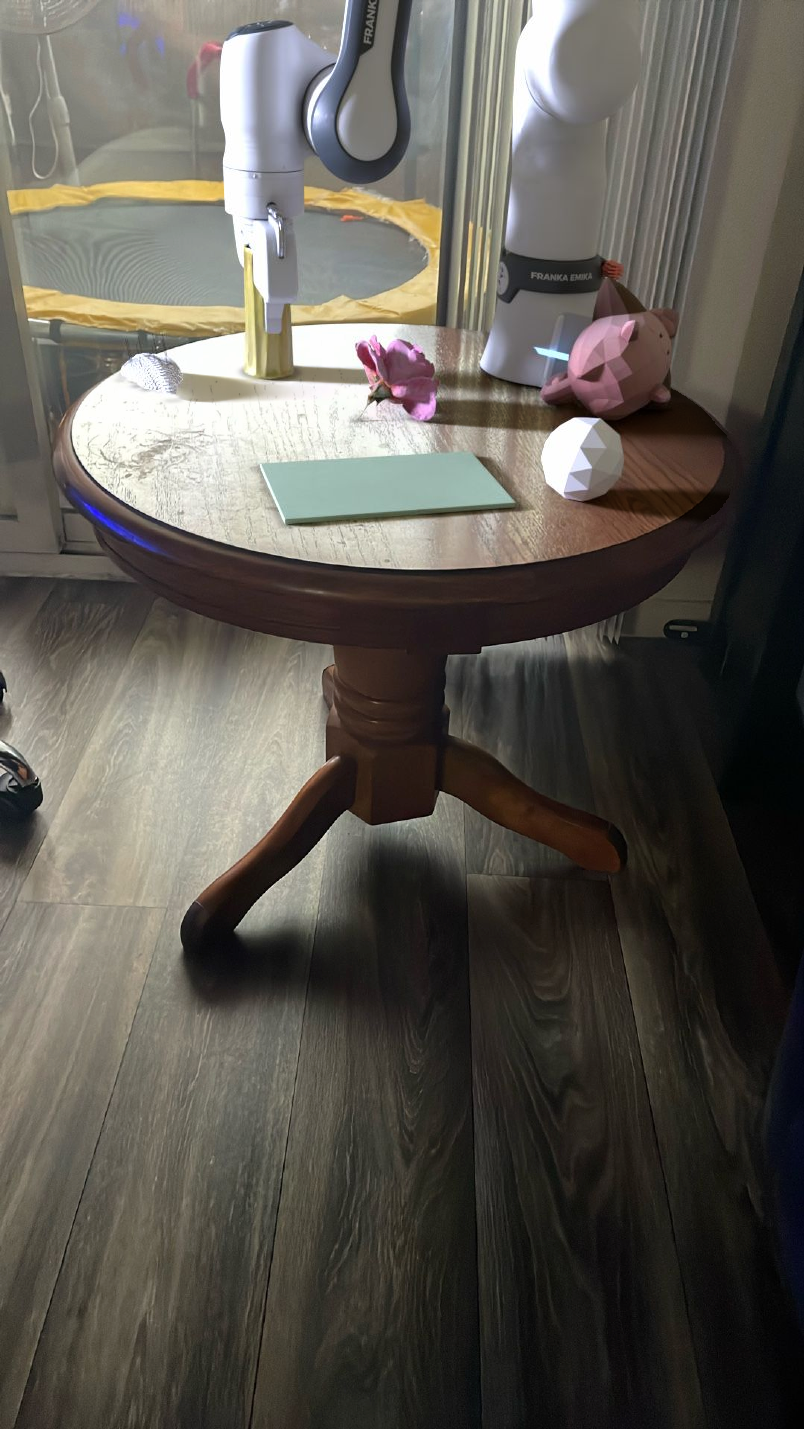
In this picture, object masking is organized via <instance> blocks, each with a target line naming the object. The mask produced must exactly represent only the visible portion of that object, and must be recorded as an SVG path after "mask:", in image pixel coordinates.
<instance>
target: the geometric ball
mask: <svg viewBox="0 0 804 1429" xmlns="http://www.w3.org/2000/svg"><path fill="white" fill-rule="evenodd" d="M540 459H541V464H542V467H543V472H544V477H545V482H546V484H547V485H548V486H549V487H551V488H552V489H553V490H554V491H555V492H557V493H558V494H559V495H560V496H562V497H563V498H564V499H565V500H573V501H578V502H585V501H590V500H593V499H596V498H599V497H600V496H603V495H606V493H607V492H609V490H611V488H612V487H613V486H614V485H615V484H616V483H617V482H618V480H619V479H620V478H621V477H622V474H623V469H624V464H625V456H624V450H623V445H622V440H621V435H620V434H619V433H618V432H617V431H615V429H614V428H612V427H611V426H610V425H609V424H608V423H606V422H605V420H602V419H600V418H598V417H597V418H596V417H573V418H571V419H569V420H568V421H566V422H563V423H561V424H560V425H559V426H558V427H556V428H555V429H554V430H553V431H552V432H551V433H550V435H549V436H548V438H547V439H546V441H545V443H544V446H543V450H542V453H541V458H540Z"/></svg>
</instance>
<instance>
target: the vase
mask: <svg viewBox="0 0 804 1429" xmlns="http://www.w3.org/2000/svg"><path fill="white" fill-rule="evenodd" d="M248 244H249V243H246V244H244V246H243V256H244V268H243V283H244V284H243V290H244V292H243V293H244V326H245V328H244V329H245V330H244V364H243V365H244V366H243V370H244V373H245V374H246V375H248V376H250V377H253V378H256V379H262V380H278V379H285V378H288V377H290V376H291V375H294V373H295V366H294V349H293V347H294V346H293V326H292V308H291V306H292V305H291V303H287V304H284V309H283V314H282V331H281V332H280V333H279V334H269V333H267V331H266V329H265V327H264V315H265V303H264V298H263V297H262V295H261V294H260V292H259V291H258V289H257V288H256V286H255V284H254V274H253V249H249V248H248ZM283 258H284V257H283ZM283 258H282V259H283ZM279 259H281V258H280V257H279Z"/></svg>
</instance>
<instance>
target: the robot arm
mask: <svg viewBox="0 0 804 1429" xmlns="http://www.w3.org/2000/svg"><path fill="white" fill-rule="evenodd" d="M531 1H532V16H531V17H530V18H529V20H528V21H527V22H526V24H525V26H523V27H524V28H523V29H522V31H521V33H520V36H519V38H518V41H517V46H516V52H515V64H514V66H515V67H514V80H513V102H512V103H513V104H512V105H513V106H512V108H513V109H512V135H511V136H512V138H511V139H512V140H511V141H512V142H511V152H512V154H511V179H510V190H509V200H508V212H507V220H506V230H505V239H504V245H503V246H502V247H501V248H500V254H499V261H498V262H499V263H498V267H497V271H496V272H497V274H496V296H497V300H496V305H495V311H494V315H493V319H492V323H491V324H492V325H491V328H490V332H489V336H488V339H487V341H486V345H485V348H484V351H483V353H482V356H481V359H480V361H479V366H480V368H481V369H482V370H483V371H485V372H486V373H488V374H489V375H491V376H493V377H496V378H499V379H502V380H505V381H508V382H511V383H516V384H522V385H527V386H534V387H539V388H541V389H542V388H543V387H544V385H545V384H546V382H547V381H548V379H550V378H551V377H553V376H554V375H555V374H558V373H560V372H562V371H566V370H567V368H568V356H569V353H570V351H571V349H572V347H573V345H574V343H575V342H576V340H577V339H578V337H579V335H580V334H581V332H582V331H583V330H584V329H585V328H586V327H587V326H588V325H590V324H591V323H592V319H593V312H594V307H595V303H596V299H597V295H598V292H599V290H600V287H601V285H602V283H603V281H604V280H605V279H606V278H613V279H614V280H616V281H617V282H618V281H619V280H620V279H621V277H623V273H625V271H624V269H625V268H624V267H623V264H622V263H620V262H617V261H616V260H613V259H609V260H607V259H606V258H604V257H603V256H602V255H600V254H599V253H597V251H598V246H599V238H600V231H601V225H602V218H603V212H604V206H605V197H606V192H607V186H608V184H607V183H608V177H607V167H606V166H607V164H606V162H607V161H606V146H607V145H606V144H607V142H606V138H607V119H608V118H610V117H611V116H613V115H614V114H616V113H617V112H618V111H619V110H621V109H622V108H623V107H624V106H625V105H626V104H627V102H628V101H630V98H631V97H632V95H633V94H634V92H635V89H636V88H637V85H638V83H639V80H640V76H641V71H642V52H641V45H640V38H639V37H640V36H639V28H640V27H639V26H640V25H639V24H640V23H639V21H640V19H639V0H531ZM412 7H413V0H345V8H344V15H343V16H344V17H343V24H342V33H341V42H340V49H339V54H338V55H337V54H335V53H333V52H331V51H330V50H327V48H324V47H323V46H321V45H320V44H318V43H317V42H316V41H314V40H312V39H311V38H309V36H307V35H306V34H305V33H304V32H302V30H300V29H299V28H298V27H297V25H296V24H295V23H294V22H292V21H289V20H285V19H275V20H265V21H259V22H253V23H247V24H245V25H242V26H238V27H237V28H235V29H234V30H232V31H231V32H230V33H229V34H228V36H227V37H226V38H225V40H224V43H223V45H222V49H221V55H220V56H221V58H220V67H219V68H220V69H219V102H220V103H219V104H220V121H221V124H222V128H223V130H224V131H223V132H224V136H225V149H224V154H223V159H222V169H223V189H224V190H223V191H224V209H225V212H226V213H227V214H229V215H231V216H232V221H233V222H232V223H233V230H234V238H235V239H234V240H235V245H236V251H237V252H236V253H237V256H238V257H237V258H238V260H239V263H240V265H241V266H242V268H243V269H244V256H243V246H244V244H246V243H249V244H248V248H249V249H253V274H254V284H255V286H256V288H257V289H258V291H259V292H260V294H261V295H262V297H263V298H264V303H265V315H264V327H265V329H266V331H267V333H269V334H279V333H280V332H281V331H282V314H283V309H284V304H287V303H290V304H295V303H296V302H297V300H298V295H299V275H298V254H297V241H296V234H295V230H294V219H296V218H299V217H302V216H303V215H304V214H305V161H306V159H307V158H319V160H320V162H321V164H323V166H324V167H325V169H326V170H327V171H328V172H330V174H332V175H333V176H334V177H336V178H337V179H339V180H341V181H342V182H346V183H349V184H353V185H369V184H372V183H376V182H378V181H380V180H383V179H385V177H387V176H389V175H390V174H392V172H394V170H395V169H396V168H397V167H398V165H399V164H400V163H401V162H402V160H403V158H404V156H405V154H406V152H407V150H408V147H409V143H410V139H411V132H412V119H411V111H410V104H409V100H408V94H407V90H406V80H405V62H406V53H407V52H406V50H407V44H408V38H409V37H408V36H409V29H410V24H411V22H410V21H411V14H412ZM279 257H280V258H281V259H279ZM283 257H284V258H283ZM282 258H283V259H282Z"/></svg>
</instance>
